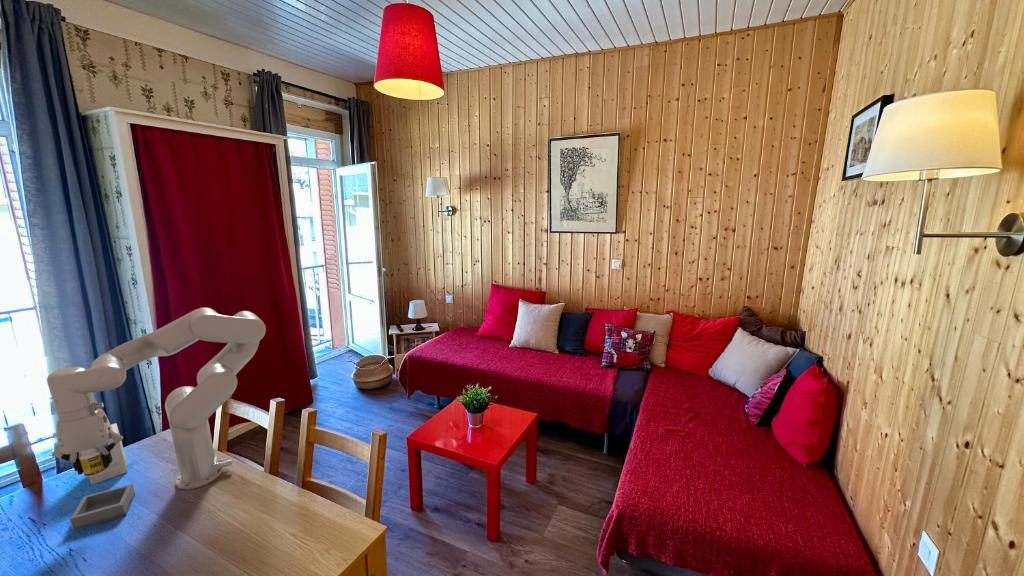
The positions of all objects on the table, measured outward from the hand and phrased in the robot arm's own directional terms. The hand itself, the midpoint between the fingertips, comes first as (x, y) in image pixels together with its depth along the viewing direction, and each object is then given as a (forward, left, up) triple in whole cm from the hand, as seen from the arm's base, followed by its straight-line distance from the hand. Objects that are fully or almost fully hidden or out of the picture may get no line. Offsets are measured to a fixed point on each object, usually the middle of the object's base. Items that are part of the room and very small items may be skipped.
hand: (95, 467), depth 118 cm
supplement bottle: (0, 0, -2) cm, 2 cm away
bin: (0, 0, -15) cm, 15 cm away
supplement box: (+5, -23, -15) cm, 28 cm away
